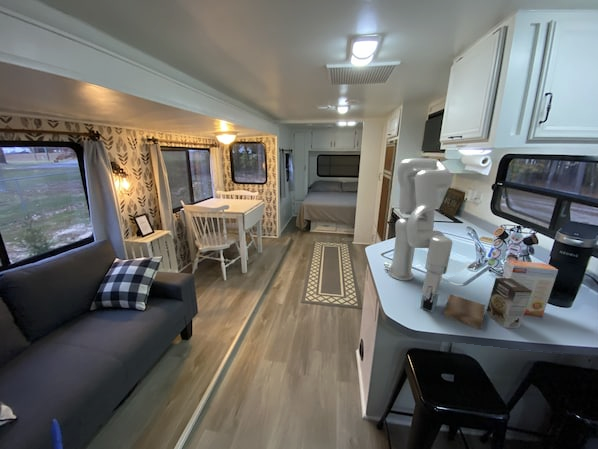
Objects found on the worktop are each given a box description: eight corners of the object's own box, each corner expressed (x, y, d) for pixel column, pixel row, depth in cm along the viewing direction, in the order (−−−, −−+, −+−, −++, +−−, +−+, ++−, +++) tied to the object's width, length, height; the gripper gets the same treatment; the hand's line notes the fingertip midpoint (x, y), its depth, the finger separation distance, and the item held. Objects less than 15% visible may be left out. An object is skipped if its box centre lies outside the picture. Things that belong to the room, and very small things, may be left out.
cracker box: (533, 308, 99) (549, 263, 93) (542, 317, 94) (560, 270, 88) (494, 302, 103) (506, 258, 97) (501, 310, 98) (514, 265, 92)
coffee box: (484, 312, 96) (494, 277, 92) (500, 312, 96) (511, 277, 92) (503, 328, 88) (515, 290, 83) (520, 328, 88) (533, 290, 83)
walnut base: (443, 315, 94) (445, 307, 93) (448, 301, 103) (450, 294, 102) (480, 329, 87) (483, 320, 86) (482, 313, 96) (485, 305, 95)
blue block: (420, 307, 99) (422, 295, 97) (423, 302, 103) (425, 290, 101) (433, 312, 96) (436, 299, 94) (436, 306, 100) (438, 294, 98)
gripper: (430, 257, 103) (423, 293, 108) (420, 271, 90) (413, 311, 95) (450, 262, 98) (442, 300, 103) (442, 277, 85) (434, 319, 91)
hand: (428, 305), depth 99 cm, fingers closed on blue block, 5 cm apart
